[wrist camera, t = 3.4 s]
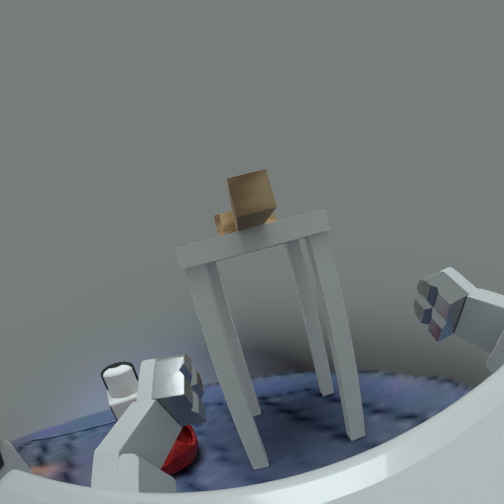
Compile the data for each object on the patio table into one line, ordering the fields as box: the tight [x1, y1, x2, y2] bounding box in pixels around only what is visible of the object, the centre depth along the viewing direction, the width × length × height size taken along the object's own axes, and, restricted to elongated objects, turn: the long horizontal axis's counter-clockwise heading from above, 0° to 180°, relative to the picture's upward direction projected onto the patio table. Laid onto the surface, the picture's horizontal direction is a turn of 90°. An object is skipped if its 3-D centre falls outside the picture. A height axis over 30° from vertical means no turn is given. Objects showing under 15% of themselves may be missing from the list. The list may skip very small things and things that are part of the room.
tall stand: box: [175, 209, 365, 470], centre depth 32 cm, size 14×15×26 cm
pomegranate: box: [161, 425, 198, 475], centre depth 28 cm, size 10×10×9 cm
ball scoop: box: [214, 169, 277, 236], centre depth 27 cm, size 6×20×3 cm, turn 2°
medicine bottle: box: [101, 362, 139, 421], centre depth 39 cm, size 7×7×12 cm
